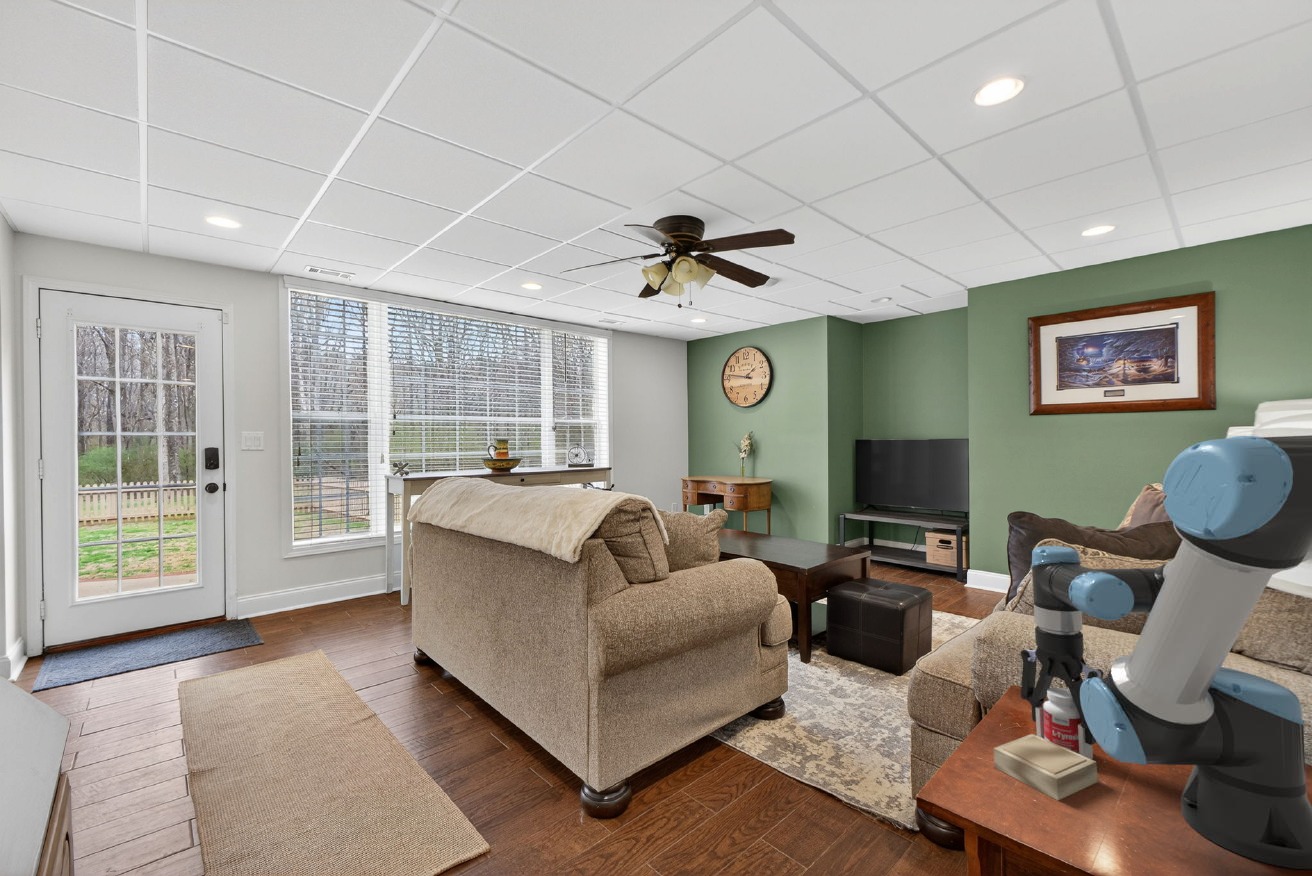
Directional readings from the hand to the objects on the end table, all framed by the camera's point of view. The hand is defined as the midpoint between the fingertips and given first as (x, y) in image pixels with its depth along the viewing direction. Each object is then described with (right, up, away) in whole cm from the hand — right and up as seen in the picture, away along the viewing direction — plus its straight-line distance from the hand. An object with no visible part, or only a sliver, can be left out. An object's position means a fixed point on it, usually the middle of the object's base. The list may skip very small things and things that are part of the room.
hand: (1064, 749), depth 109 cm
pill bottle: (0, 0, 0) cm, 0 cm away
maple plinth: (-9, 0, -7) cm, 12 cm away
